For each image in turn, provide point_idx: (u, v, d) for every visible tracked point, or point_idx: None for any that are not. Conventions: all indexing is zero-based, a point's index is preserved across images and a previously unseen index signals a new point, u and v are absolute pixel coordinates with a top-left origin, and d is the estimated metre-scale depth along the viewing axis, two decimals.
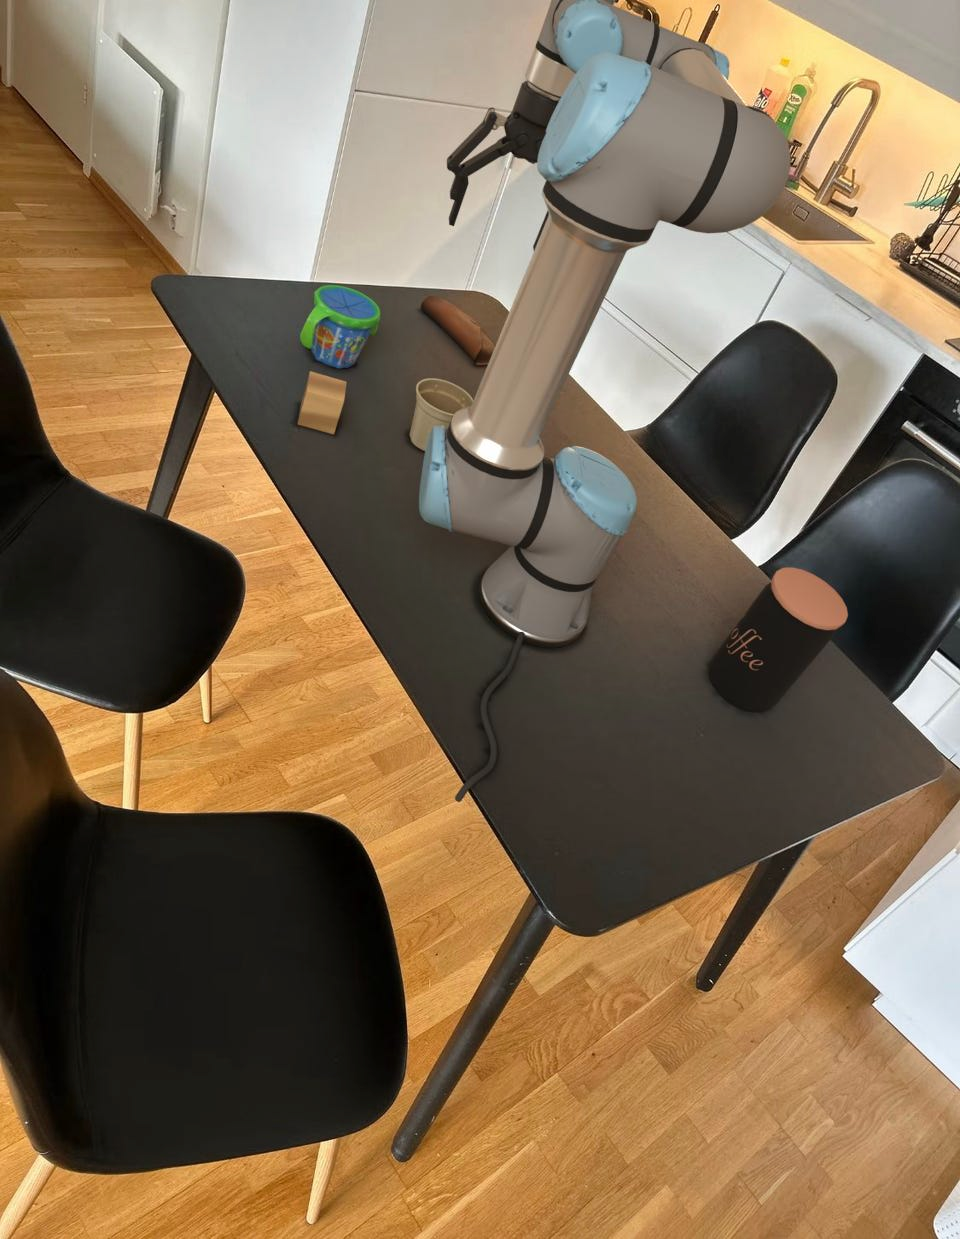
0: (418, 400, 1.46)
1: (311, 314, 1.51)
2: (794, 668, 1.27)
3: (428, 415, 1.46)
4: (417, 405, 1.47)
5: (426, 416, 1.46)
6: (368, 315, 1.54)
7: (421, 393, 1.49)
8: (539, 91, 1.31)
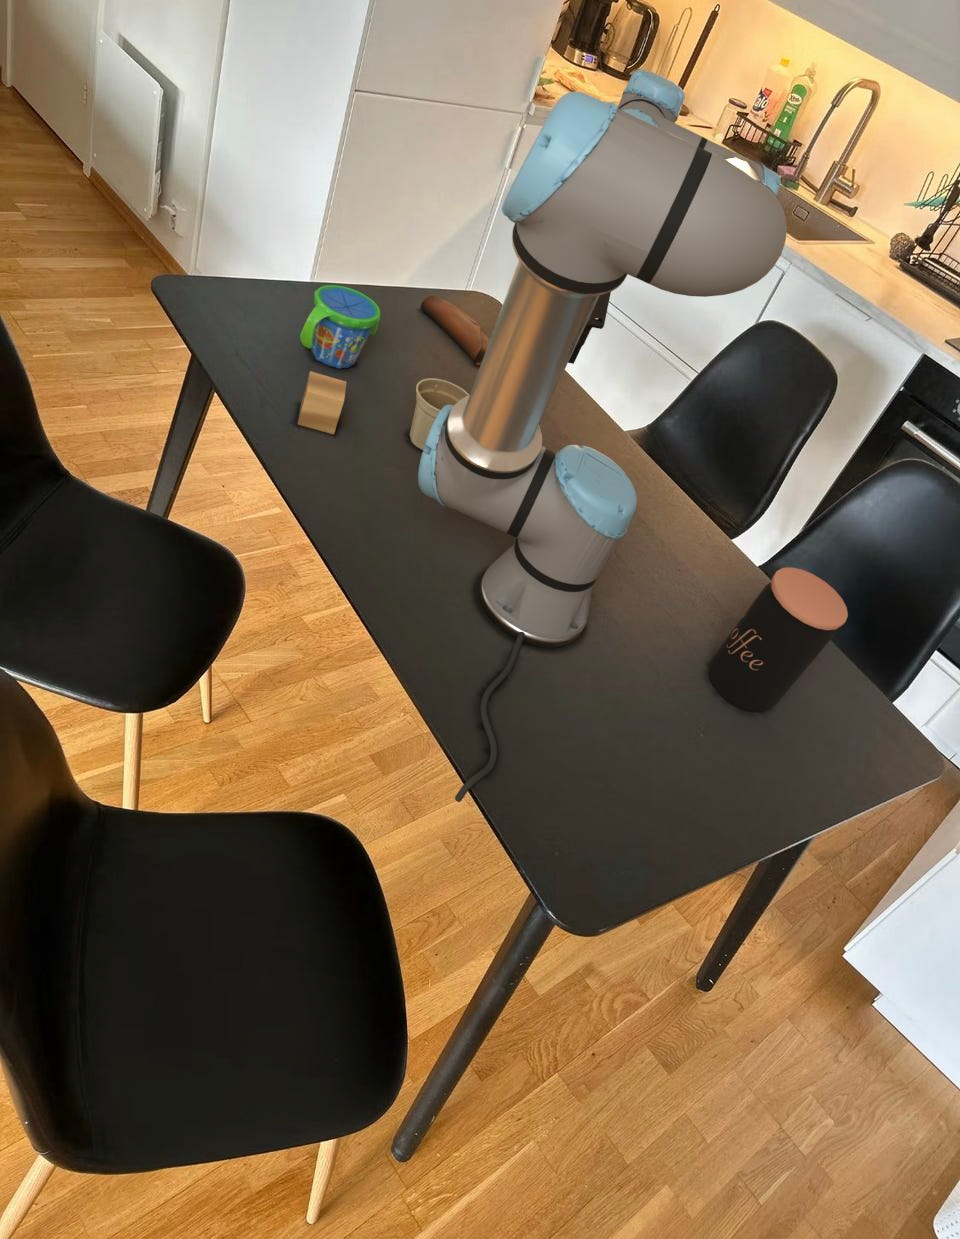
0: (418, 400, 1.46)
1: (311, 314, 1.51)
2: (794, 668, 1.27)
3: (428, 415, 1.46)
4: (417, 405, 1.47)
5: (426, 416, 1.46)
6: (368, 315, 1.54)
7: (421, 393, 1.49)
8: None
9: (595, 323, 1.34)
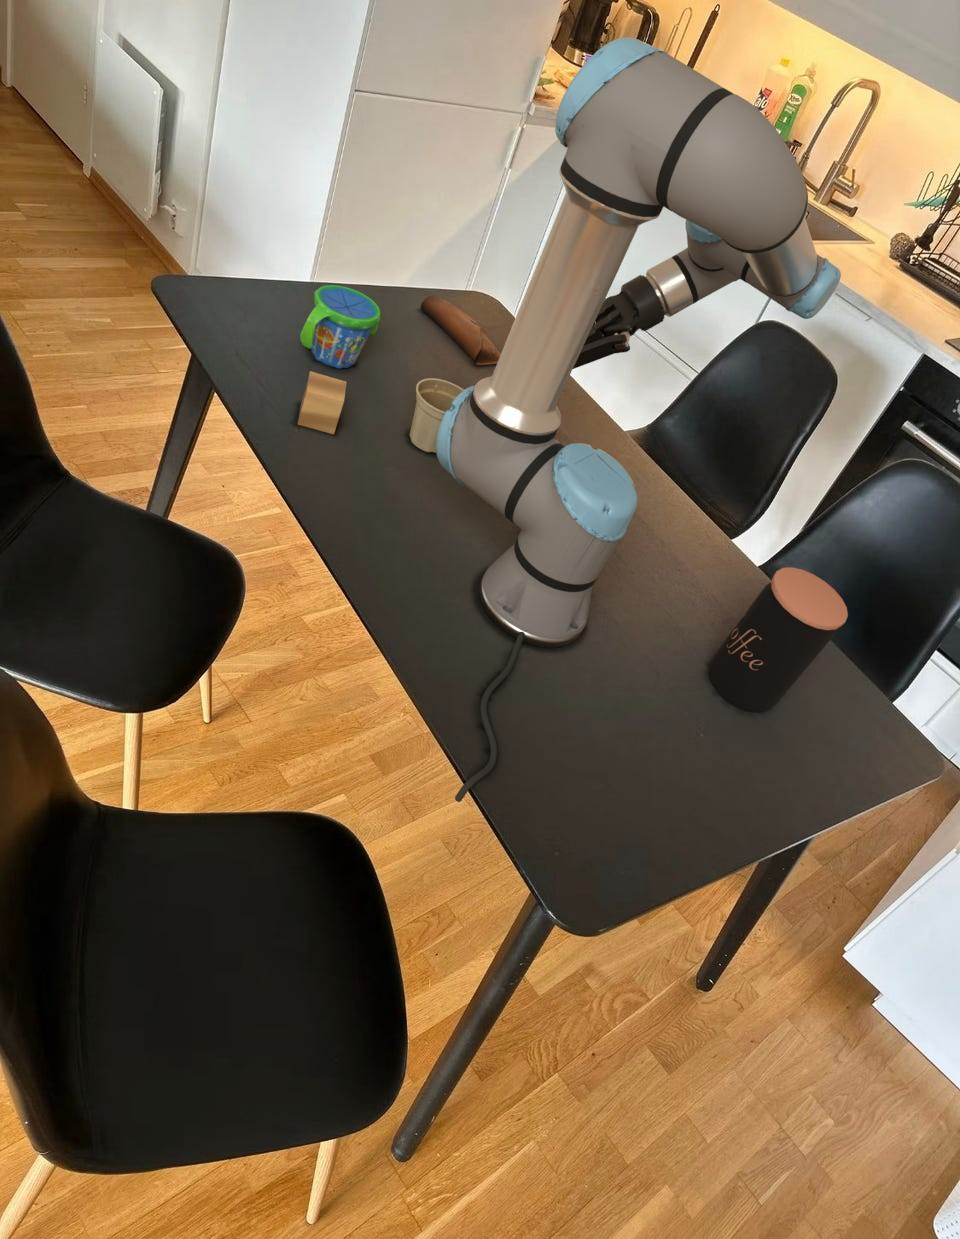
0: (418, 400, 1.46)
1: (311, 314, 1.51)
2: (794, 668, 1.27)
3: (428, 415, 1.46)
4: (417, 405, 1.47)
5: (426, 416, 1.46)
6: (368, 315, 1.54)
7: (421, 393, 1.49)
8: (646, 276, 1.44)
9: None
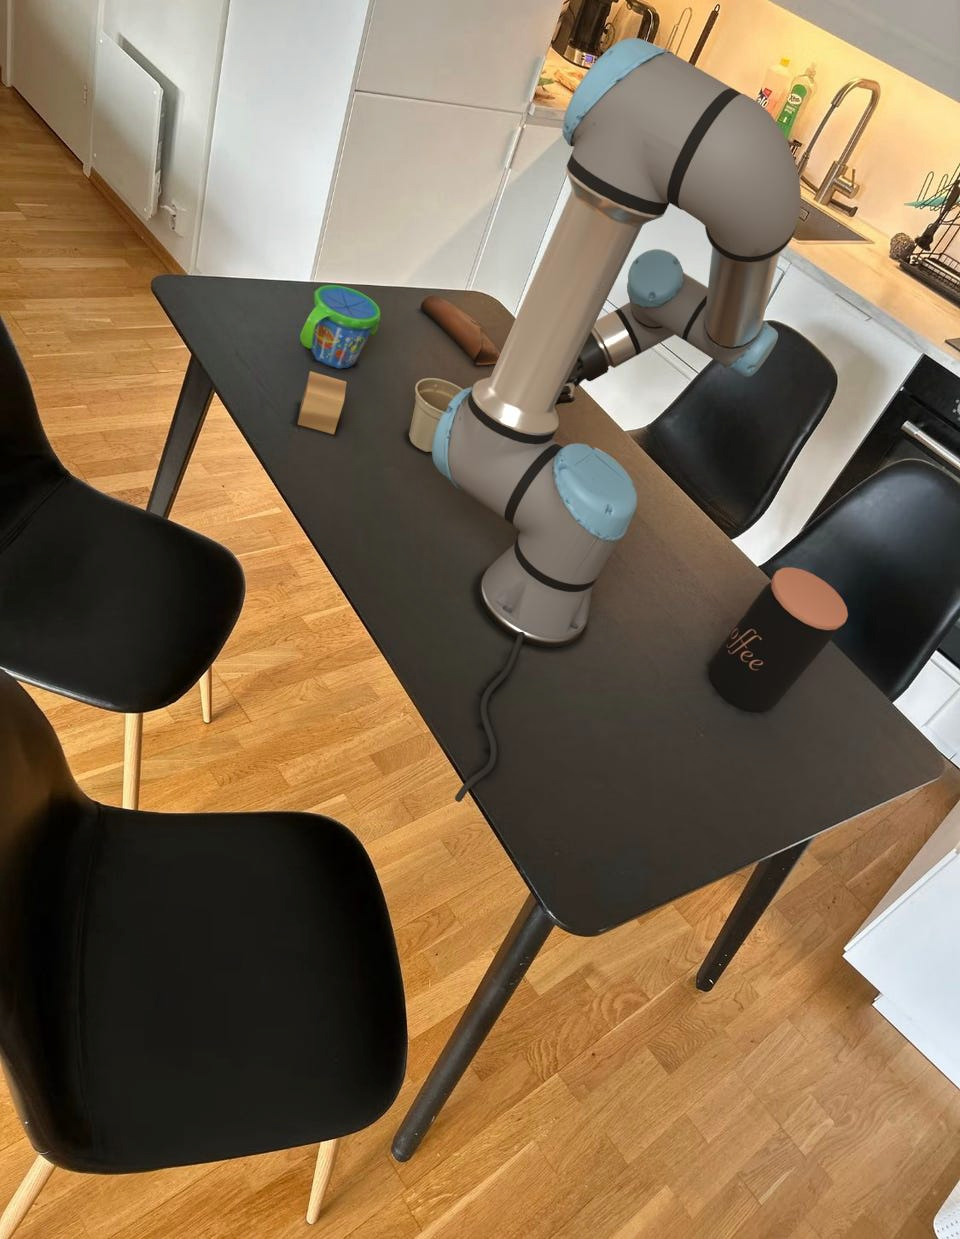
0: (417, 400, 1.46)
1: (311, 314, 1.51)
2: (794, 668, 1.27)
3: (427, 415, 1.46)
4: (416, 405, 1.47)
5: (425, 416, 1.46)
6: (368, 315, 1.54)
7: (420, 393, 1.49)
8: None
9: None
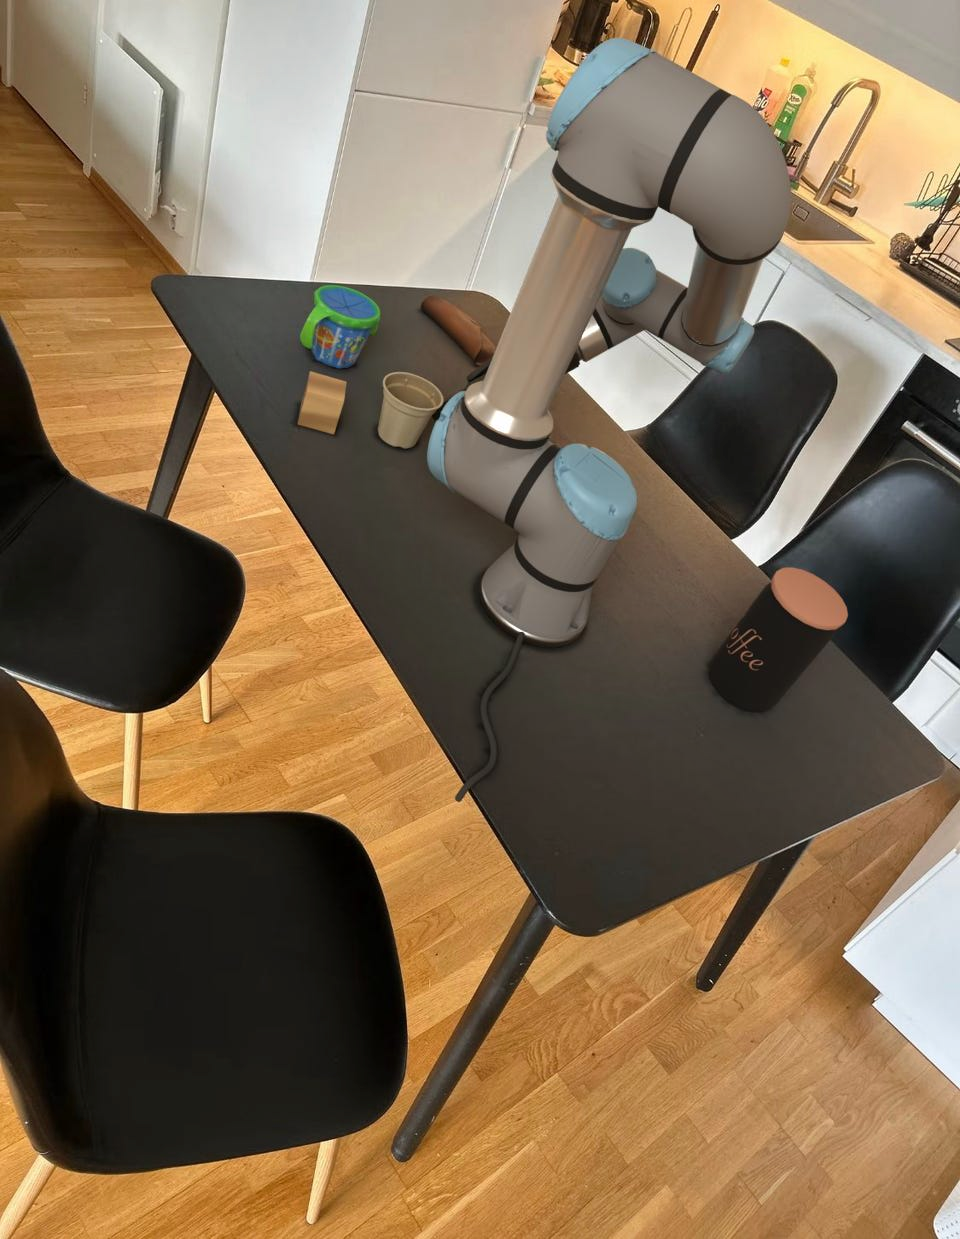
0: (384, 393, 1.44)
1: (311, 314, 1.51)
2: (794, 668, 1.27)
3: (394, 409, 1.44)
4: (384, 398, 1.45)
5: (392, 409, 1.44)
6: (368, 315, 1.54)
7: (390, 386, 1.47)
8: None
9: None
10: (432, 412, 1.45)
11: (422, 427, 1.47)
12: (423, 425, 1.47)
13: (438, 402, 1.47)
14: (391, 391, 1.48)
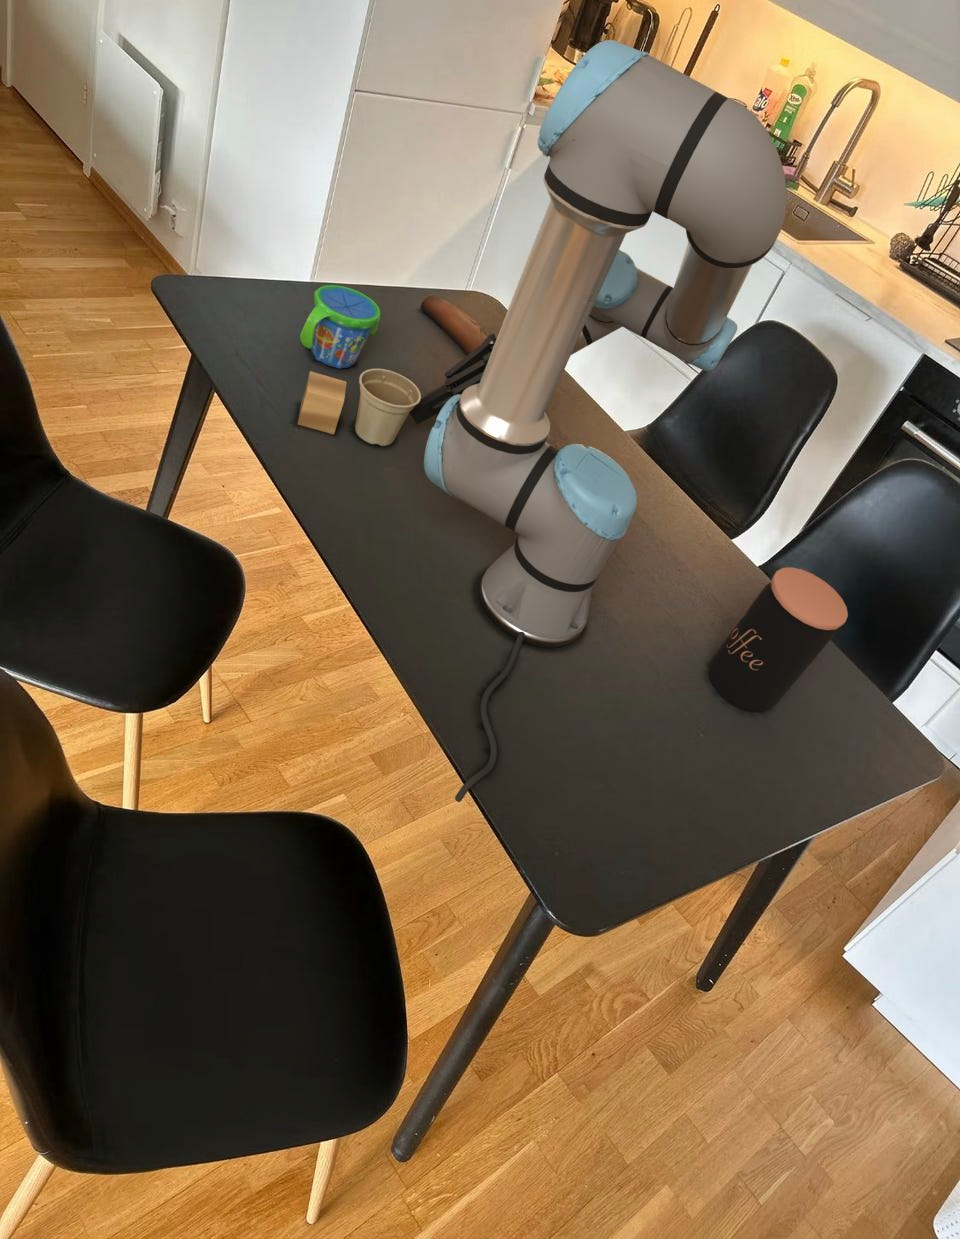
0: (361, 390, 1.42)
1: (311, 314, 1.51)
2: (794, 668, 1.27)
3: (370, 406, 1.42)
4: (361, 395, 1.44)
5: (368, 406, 1.42)
6: (368, 315, 1.54)
7: (367, 383, 1.46)
8: None
9: None
10: (409, 409, 1.43)
11: (400, 425, 1.46)
12: (400, 422, 1.45)
13: (416, 399, 1.46)
14: (368, 388, 1.47)
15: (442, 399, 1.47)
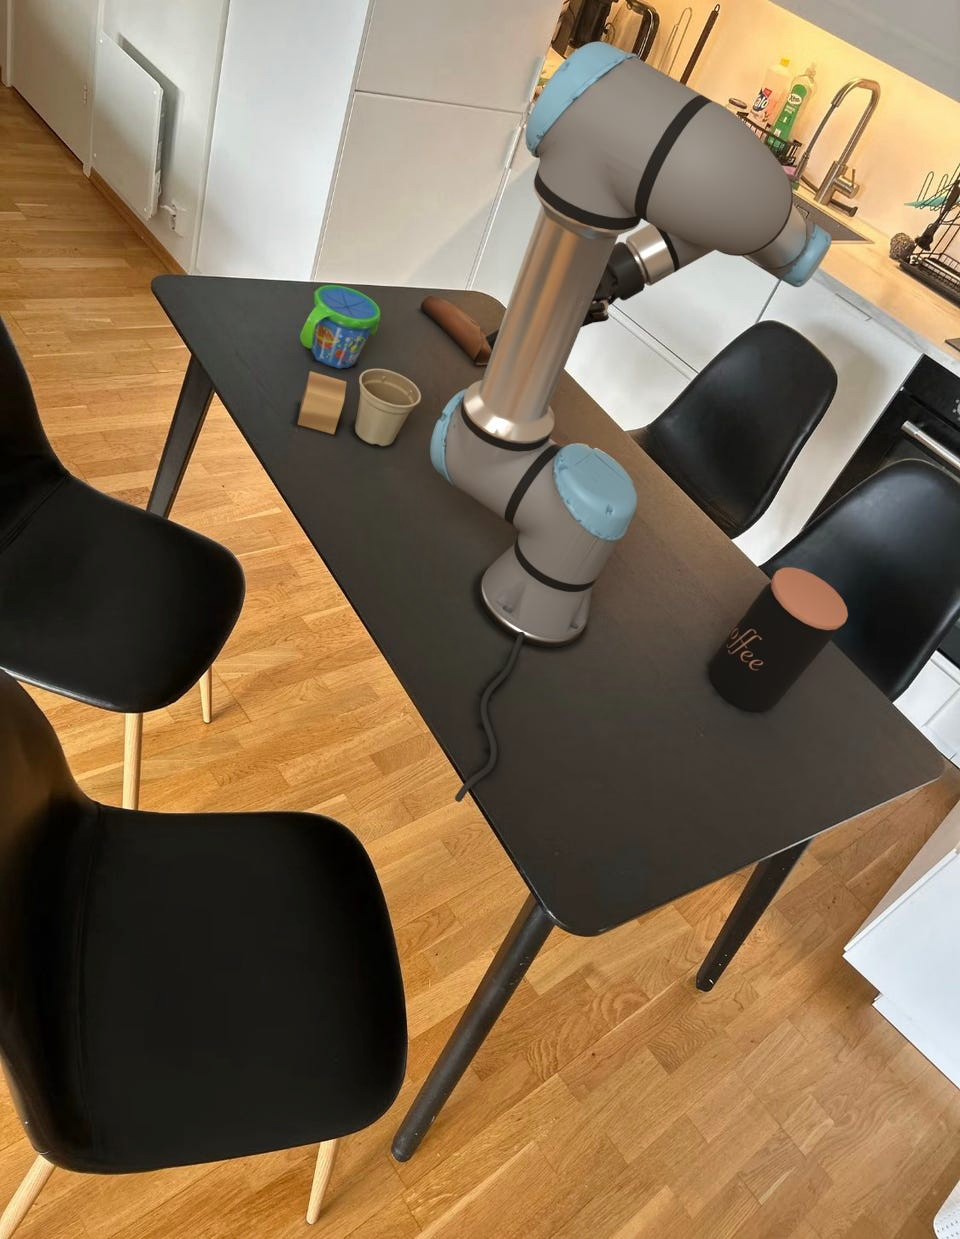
0: (361, 390, 1.42)
1: (311, 314, 1.51)
2: (794, 668, 1.27)
3: (370, 406, 1.42)
4: (360, 395, 1.44)
5: (368, 406, 1.42)
6: (368, 315, 1.54)
7: (367, 383, 1.46)
8: (625, 243, 1.39)
9: None
10: (409, 409, 1.43)
11: (400, 425, 1.46)
12: (400, 422, 1.45)
13: (416, 399, 1.46)
14: (368, 388, 1.47)
15: None
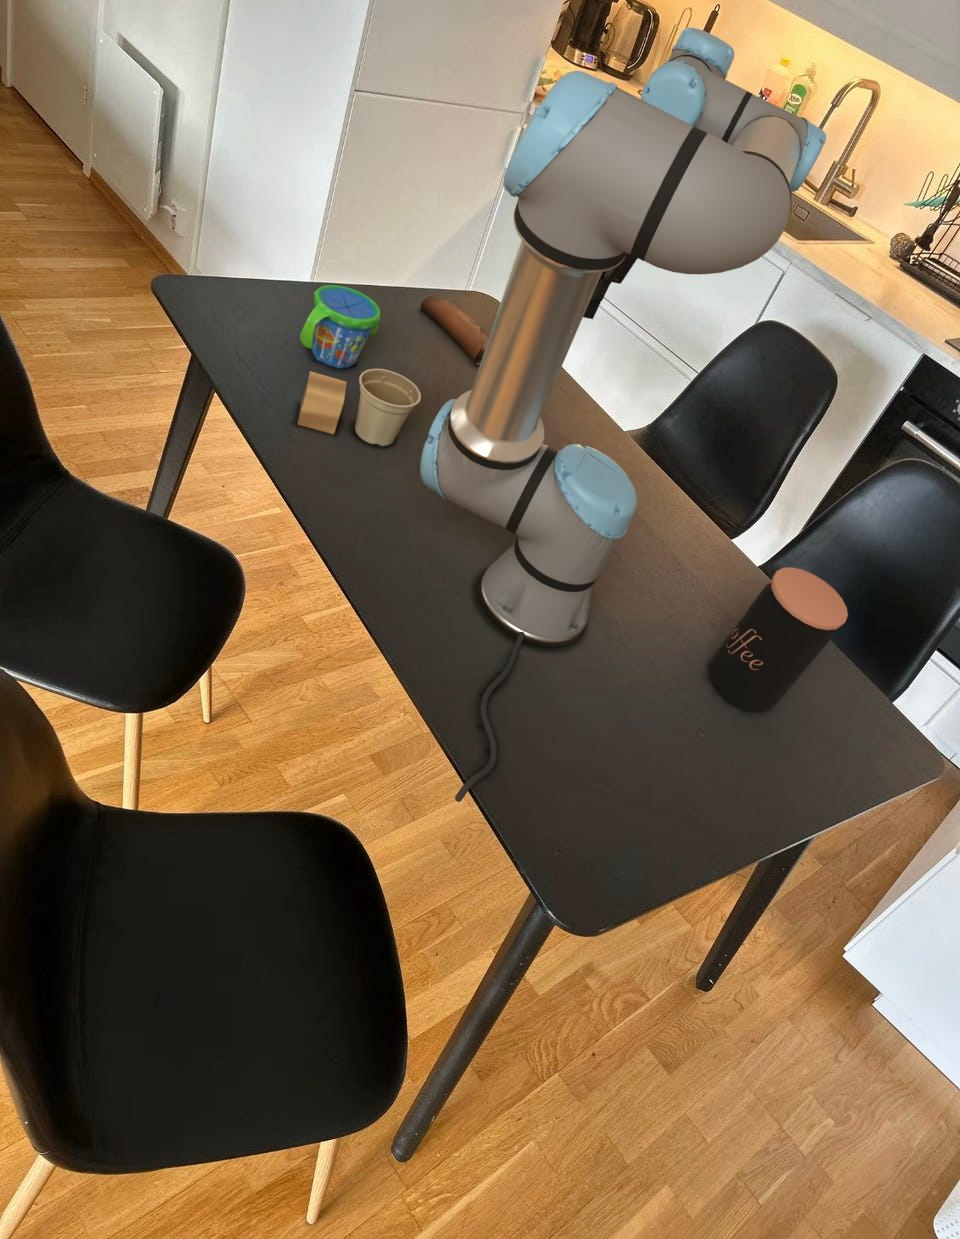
0: (361, 390, 1.42)
1: (311, 314, 1.51)
2: (794, 668, 1.27)
3: (370, 406, 1.42)
4: (360, 395, 1.44)
5: (368, 406, 1.42)
6: (368, 315, 1.54)
7: (367, 383, 1.46)
8: None
9: (613, 280, 1.39)
10: (409, 409, 1.43)
11: (400, 425, 1.46)
12: (400, 422, 1.45)
13: (416, 399, 1.46)
14: (368, 388, 1.47)
15: (596, 285, 1.42)
